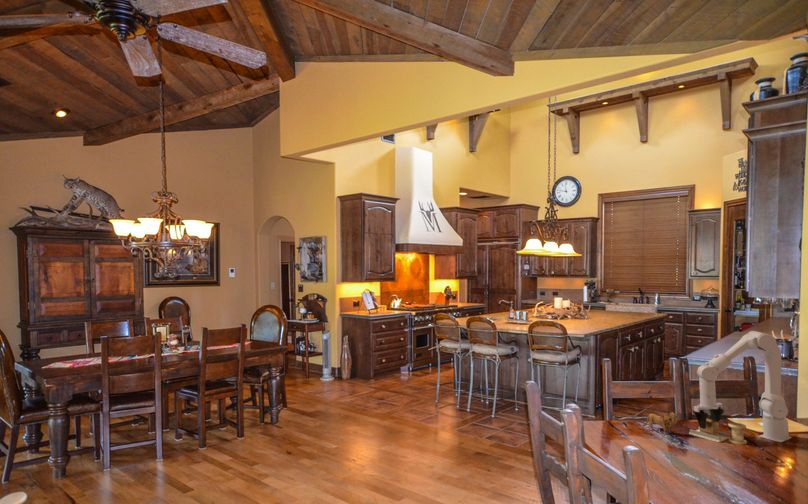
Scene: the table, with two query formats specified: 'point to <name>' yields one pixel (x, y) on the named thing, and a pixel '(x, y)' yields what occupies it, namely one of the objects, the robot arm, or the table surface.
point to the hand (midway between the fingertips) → (709, 426)
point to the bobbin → (737, 433)
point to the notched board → (719, 438)
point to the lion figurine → (662, 421)
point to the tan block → (711, 427)
